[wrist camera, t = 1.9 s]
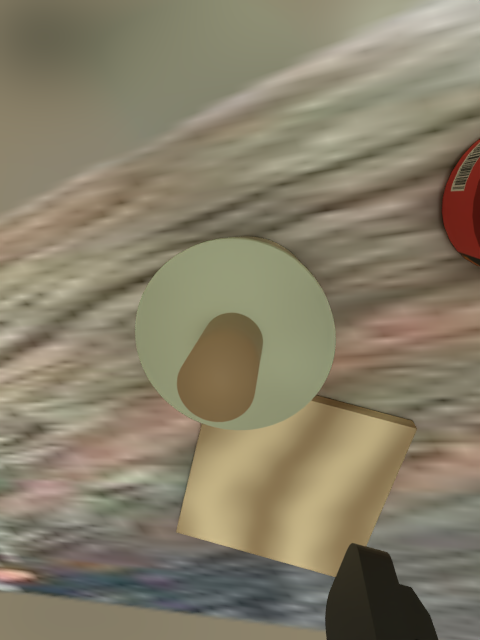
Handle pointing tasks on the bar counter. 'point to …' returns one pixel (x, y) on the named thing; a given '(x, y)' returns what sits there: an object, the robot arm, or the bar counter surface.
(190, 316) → the lid
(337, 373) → the bar counter surface
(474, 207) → the canned food
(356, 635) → the robot arm
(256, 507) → the mat
